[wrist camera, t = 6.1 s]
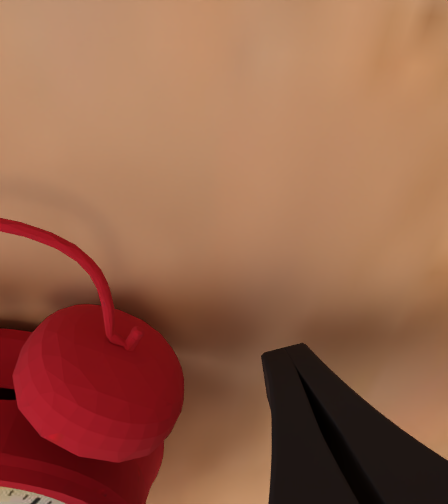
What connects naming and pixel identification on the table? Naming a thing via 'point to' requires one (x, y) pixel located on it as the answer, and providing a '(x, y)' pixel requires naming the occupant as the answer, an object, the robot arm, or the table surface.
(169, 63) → the table surface
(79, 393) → the alarm clock
